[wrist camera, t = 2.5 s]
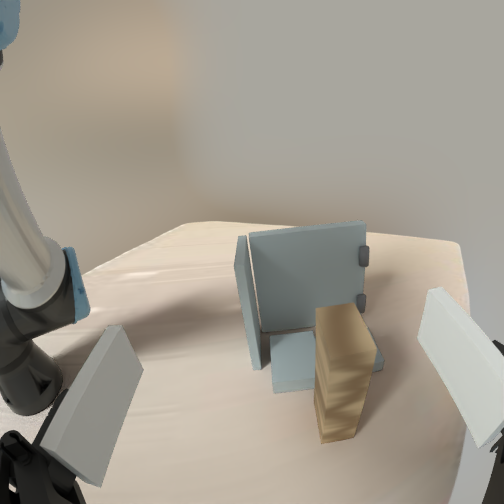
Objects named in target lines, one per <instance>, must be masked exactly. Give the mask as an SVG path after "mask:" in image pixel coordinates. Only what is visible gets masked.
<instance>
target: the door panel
mask: <svg viewBox="0 0 504 504" xmlns="http://www.w3.org/2000/svg"><path fill="white" fill-rule="evenodd" d="M376 352H377V347H376V345H375V343H374V341H373V339H372V337H371V335H370V333H369V331H368V329H367V327H366V325H365V323H364V321H363V319H362V317H361V315H360V313H359V311H358V309H357V307H356V305H355V303H354V302H353V303H347V304H340V305H333V306H327V307H320V308H316V352H315V389H314V404H315V410H316V416H317V421H318V427H319V433H320V439H321V444H324V443H330V442H335V441H340V440H345V439H350V438H353V437H354V435H355V431H356V428H357V425H358V422H359V419H360V416H361V412H362V409H363V405H364V402H365V398H366V394H367V391H368V387H369V383H370V379H371V375H372V370H373V366H374V362H375V357H376Z"/></svg>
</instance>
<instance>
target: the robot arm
mask: <svg viewBox="0 0 504 504" xmlns="http://www.w3.org/2000/svg"><path fill="white" fill-rule="evenodd" d="M19 12H20V0H0V70H1V68H2V66H3V54H2V49H5V48H6V47H7V46H8V45H9V44H11V43H12V42H13V41H14V39H15V38H16V36H17V33H18V29H19ZM89 313H90V305H89V301H88V298H87V294H86V291H85V288H84V284H83V280H82V277H81V273H80V269H79V266H78V262H77V258H76V253H75V250H74V248H72V247H68V248H66V247H64V248H62V249H61V247H60V246H59V244H58V243H57V242H56V241H54V240H53V239H51V238H49V237H44V236H43V234H42V233H41V230H40V228H39V226H38V225H37V222H36V220H35V218H34V216H33V214H32V212H31V210H30V207H29V206H28V203H27V201H26V198H25V196H24V194H23V191H22V189H21V187H20V184H19V182H18V179H17V177H16V174H15V171H14V169H13V166H12V163H11V160H10V157H9V155H8V151H7V149H6V146H5V142H4V139H3V135H2V132H1V128H0V392H1V395H2V397H3V399H4V401H5V403H6V404H7V405H8V406H9V407H10V409H11V410H12V411H13V412H14V413H16V414H18V415H23V416H28V415H33V414H35V413H38V412H40V411H41V410H43V409H44V408H46V407H47V406H48V405H49V404H50V403H51V402H52V401H53V400H54V398H55V397H56V395H57V394H58V392H59V390H60V387H61V384H62V373H61V371H60V369H59V367H58V366H57V364H56V363H55V361H54V360H53V359H52V358H51V357H50V356H48V355H47V354H46V353H45V352H44V351H43V350H41V349H40V348H39V347H38V346H37V345H36V344H35V343H34V342H33V340H32V339H33V338H36V337H38V336H41V335H44V334H46V333H49V332H51V331H54V330H57V329H59V328H62V327H64V326H67V325H70V324H76V323H77V321H79V320H81V319H84V318H86V317H87V316H88V315H89ZM417 340H418V341H419V343H420V344H421V346H422V348H423V349H424V351H425V352H426V354H427V355H428V357H429V359H430V360H431V362H432V364H433V365H434V367H435V369H436V370H437V372H438V374H439V375H440V377H441V379H442V380H443V382H444V384H445V386H446V387H447V389H448V391H449V393H450V395H451V396H452V398H453V400H454V402H455V404H456V406H457V407H458V409H459V411H460V413H461V415H462V417H463V419H464V421H465V423H466V425H467V427H468V429H469V431H470V433H471V435H472V437H473V439H474V441H475V443H476V445H477V447H478V449H479V448H480V447H482V446H484V445H486V444H487V443H489V442H491V441H492V440H493V439H494V438H495V437H496V436H497V435H498V434H499V433H500V431H501V433H502V435H503V436H502V437H501V438H500V439H499V440H498V441H497V442H496V443H495V444H494V445H493V447H492V448H491V450H490V452H493V451H494V450H495V449H496V448H497V447H498V449H497V450H496V452H495V453H497V455H496V459H495V463H494V467H493V471H492V474H491V478H490V481H489V484H488V487H487V490H486V493H485V496H484V499H483V502H482V504H504V345H503V344H501V343H499V342H498V341H496V340H494V341H491V340H490V339H489V338H488V337H487V335H486V334H485V333H484V332H483V331H482V330H481V328H480V327H479V326H478V325H477V324H476V323H475V322H474V320H473V319H472V318H471V317H470V316H469V315H468V314H467V313H466V312H465V311H464V309H463V308H462V307H461V306H460V305H459V304H458V303H457V302H456V301H455V300H454V299H453V298H452V297H451V296H450V295H449V294H448V293H447V292H446V291H445V290H444V289H443V288H442V287H437V288H433V289H429V290H428V293H427V298H426V303H425V307H424V312H423V316H422V321H421V325H420V329H419V333H418V336H417ZM143 370H144V369H143V367H142V365H141V364H140V362H139V360H138V358H137V356H136V354H135V352H134V350H133V348H132V345H131V343H130V341H129V339H128V337H127V335H126V333H125V331H124V328H123V326H122V325H112V326H108V327H107V328H106V330H105V331H104V333H103V334H102V336H101V338H100V339H99V341H98V342H97V344H96V345H95V347H94V349H93V350H92V352H91V353H90V355H89V357H88V358H87V360H86V361H85V363H84V365H83V366H82V368H81V370H80V371H79V373H78V375H77V376H76V378H75V380H74V382H73V383H72V385H71V387H70V389H65V390H64V391H63V392H62V393H61V394H60V395H59V396H58V397H57V399H56V400H55V402H54V404H53V406H52V407H53V408H51V409H50V411H49V413H48V416H47V417H46V419H45V420H44V422H43V424H42V426H41V428H40V430H39V432H38V434H37V436H36V438H35V440H34V442H33V443H32V445H31V444H30V443H29V442H28V441H27V440H26V439H25V438H24V437H23V436H22V435H21V434H20V433H19V432H18V431H15V430H11V431H8V432H6V433H5V434H4V435H3V436H2V437H1V439H0V504H86V502H85V500H84V497H83V495H82V492H81V490H80V487H79V485H78V483H77V481H75V478H76V476H77V477H79V478H80V479H81V480H83V481H84V482H86V483H89V484H91V485H94V486H97V487H100V488H101V486H102V483H103V480H104V477H105V474H106V470H107V467H108V464H109V461H110V458H111V455H112V453H113V450H114V447H115V444H116V441H117V438H118V435H119V433H120V430H121V427H122V424H123V422H124V419H125V416H126V414H127V411H128V408H129V406H130V403H131V401H132V398H133V395H134V393H135V390H136V388H137V385H138V383H139V380H140V378H141V375H142V373H143ZM9 483H10V484H11V485H12V486H14V487H15V488H16V492H15V493H14V492H13V491H11V490H10V489H9Z"/></svg>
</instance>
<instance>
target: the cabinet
mask: <svg viewBox="0 0 504 504" xmlns="http://www.w3.org/2000/svg"><path fill="white" fill-rule="evenodd" d="M249 242H250V249H251V256H252V263H253V270H254V277H255V284H256V291H257V298H258V305H259V311H260V318H261V325H262V332H272V331H281V330H290V329H298V328H305V327H313V326H316V308H320V307H327V306H333V305H340V304H347V303H353V302H354V303H355V305H356V307H357V309H358V311H359V313H360V315H361V313H364V312H365V303H366V295H365V294H363V288H364V273H365V267H367V266H368V265H369V246H366V224H365V223H364V222H363V221H362V220H360V221H350V222H341V223H331V224H322V225H313V226H304V227H294V228H285V229H277V230H268V231H260V232H251V233H249ZM234 270H235V275H236V281H237V286H238V292H239V297H240V303H241V308H242V314H243V319H244V324H245V330H246V335H247V340H248V345H249V351H250V356H251V361H252V366H253V370H261V341H260V324H259V318H258V311H257V304H256V298H255V291H254V284H253V278H252V271H251V264H250V257H249V251H248V244H247V237H246V235H245V236H238V242H237V249H236V255H235V262H234ZM367 329H368V331H369V333H370V335H371V337H372V339H373V341H374V343H375V345H376V347H377V352H376V357H375V362H374V366H373V370H372V372H375V371H380V370H382V368H383V365H384V359H383V357H382V355H381V353H380V351H379V349H378V346H377V344H376V342H375V340H374V338H373V336H372V334H371V332H370V330H369V328H367ZM270 352H271V368H272V384H273V391H274V393H282V392H291V391H299V390H307V389H314V388H315V352H316V337H314V334H313V331H305V332H298V333H290V334H281V335H272V336H270Z"/></svg>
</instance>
